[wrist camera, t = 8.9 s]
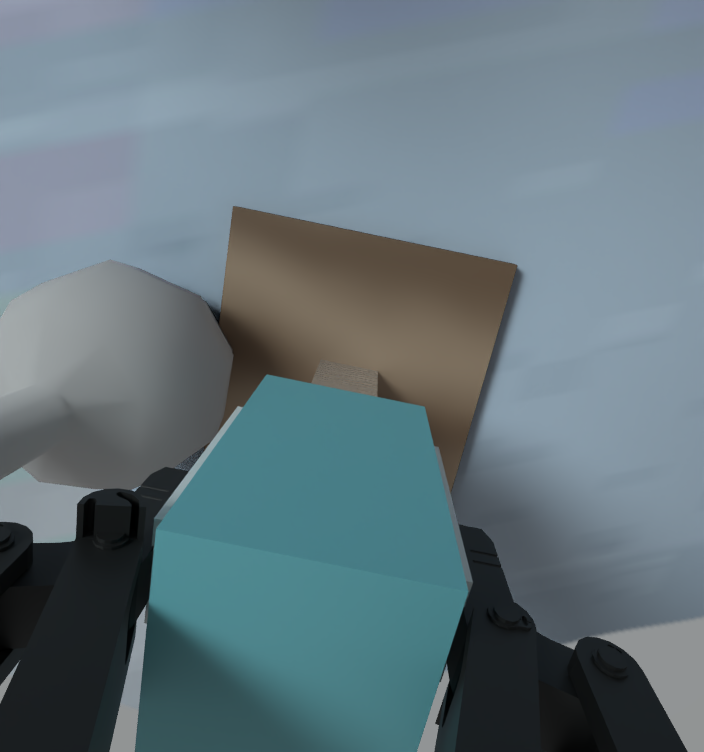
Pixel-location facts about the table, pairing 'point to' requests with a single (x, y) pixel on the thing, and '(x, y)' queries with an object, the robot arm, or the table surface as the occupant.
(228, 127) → the table surface
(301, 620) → the teal boxy block
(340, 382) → the post
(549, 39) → the table surface
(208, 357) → the potion bottle
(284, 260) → the board
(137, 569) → the robot arm
